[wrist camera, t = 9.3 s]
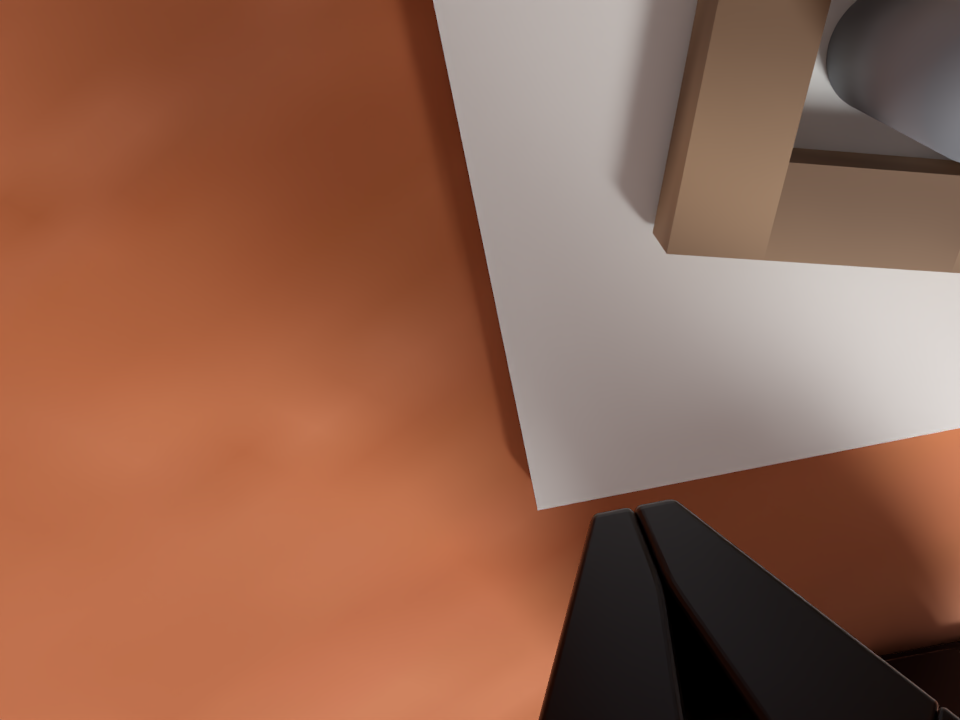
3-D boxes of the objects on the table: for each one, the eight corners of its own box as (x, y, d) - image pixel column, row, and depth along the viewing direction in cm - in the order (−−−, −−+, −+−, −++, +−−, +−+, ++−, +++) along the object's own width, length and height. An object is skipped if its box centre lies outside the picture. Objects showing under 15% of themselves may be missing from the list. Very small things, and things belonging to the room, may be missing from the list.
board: (1187, 353, 23) (1372, 466, 18) (532, 482, 23) (559, 621, 19) (1420, -716, 14) (1892, -993, 9) (338, -459, 14) (305, -607, 10)
